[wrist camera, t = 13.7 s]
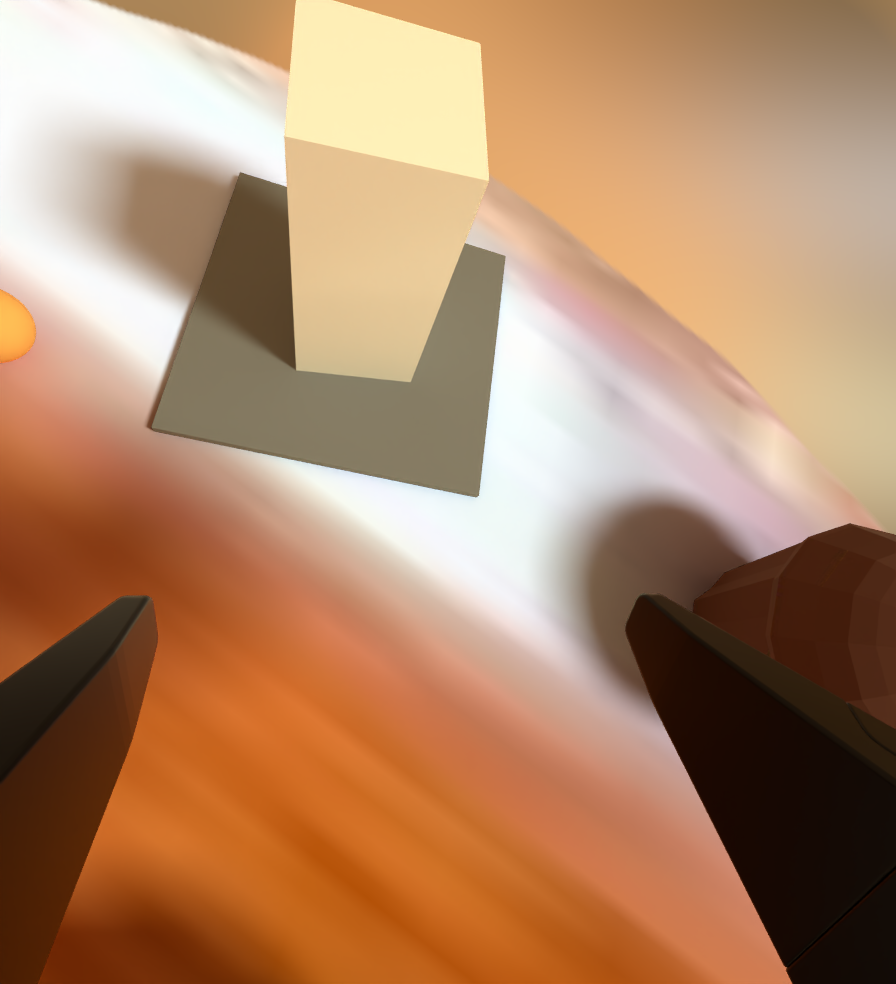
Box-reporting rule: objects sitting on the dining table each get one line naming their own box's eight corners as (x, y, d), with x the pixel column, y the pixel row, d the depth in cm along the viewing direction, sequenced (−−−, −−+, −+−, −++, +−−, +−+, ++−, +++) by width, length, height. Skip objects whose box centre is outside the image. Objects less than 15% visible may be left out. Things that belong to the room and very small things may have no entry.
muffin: (791, 530, 30) (1008, 480, 20) (874, 722, 27) (1161, 763, 18) (630, 581, 26) (807, 548, 17) (711, 808, 24) (968, 915, 14)
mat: (476, 497, 25) (478, 495, 25) (153, 431, 22) (151, 427, 22) (502, 260, 30) (505, 256, 29) (241, 178, 27) (240, 172, 26)
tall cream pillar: (410, 382, 25) (489, 180, 14) (296, 370, 24) (284, 136, 13) (410, 289, 27) (480, 43, 16) (302, 273, 26) (297, -11, 14)
